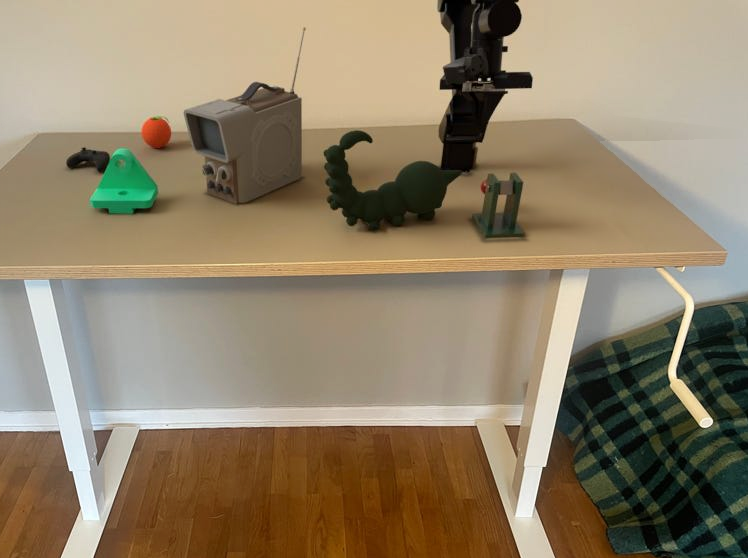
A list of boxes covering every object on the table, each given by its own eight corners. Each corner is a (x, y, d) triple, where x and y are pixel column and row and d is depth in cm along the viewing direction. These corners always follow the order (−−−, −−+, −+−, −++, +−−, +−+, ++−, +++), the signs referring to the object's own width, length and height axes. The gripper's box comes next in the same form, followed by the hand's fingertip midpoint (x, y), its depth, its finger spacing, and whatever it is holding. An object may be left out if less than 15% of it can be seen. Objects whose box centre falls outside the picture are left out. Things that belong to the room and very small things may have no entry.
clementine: (160, 139, 179) (157, 109, 175) (181, 144, 175) (178, 114, 171) (137, 148, 173) (133, 118, 169) (158, 154, 170) (155, 123, 166)
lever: (478, 195, 139) (478, 179, 138) (494, 194, 139) (494, 178, 138) (497, 196, 128) (498, 179, 127) (514, 196, 128) (515, 178, 127)
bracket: (471, 219, 137) (478, 169, 131) (508, 218, 137) (517, 167, 131) (484, 241, 130) (492, 188, 124) (523, 239, 130) (533, 186, 124)
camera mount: (91, 213, 144) (81, 162, 138) (101, 197, 150) (92, 148, 144) (151, 213, 143) (144, 162, 137) (158, 197, 149) (152, 148, 143)
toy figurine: (335, 246, 133) (469, 224, 134) (328, 145, 122) (474, 121, 123) (325, 224, 140) (452, 203, 142) (318, 127, 129) (455, 105, 131)
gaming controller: (63, 165, 163) (70, 140, 164) (75, 175, 168) (83, 151, 169) (100, 170, 160) (107, 144, 160) (112, 180, 165) (119, 156, 166)
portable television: (189, 197, 149) (174, 40, 131) (269, 164, 163) (265, 18, 145) (230, 213, 142) (220, 49, 125) (310, 177, 156) (311, 25, 139)
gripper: (419, 43, 138) (415, 130, 143) (490, 36, 122) (483, 134, 128) (464, 44, 142) (459, 128, 148) (539, 37, 127) (529, 131, 132)
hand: (480, 130), depth 139 cm, fingers closed
